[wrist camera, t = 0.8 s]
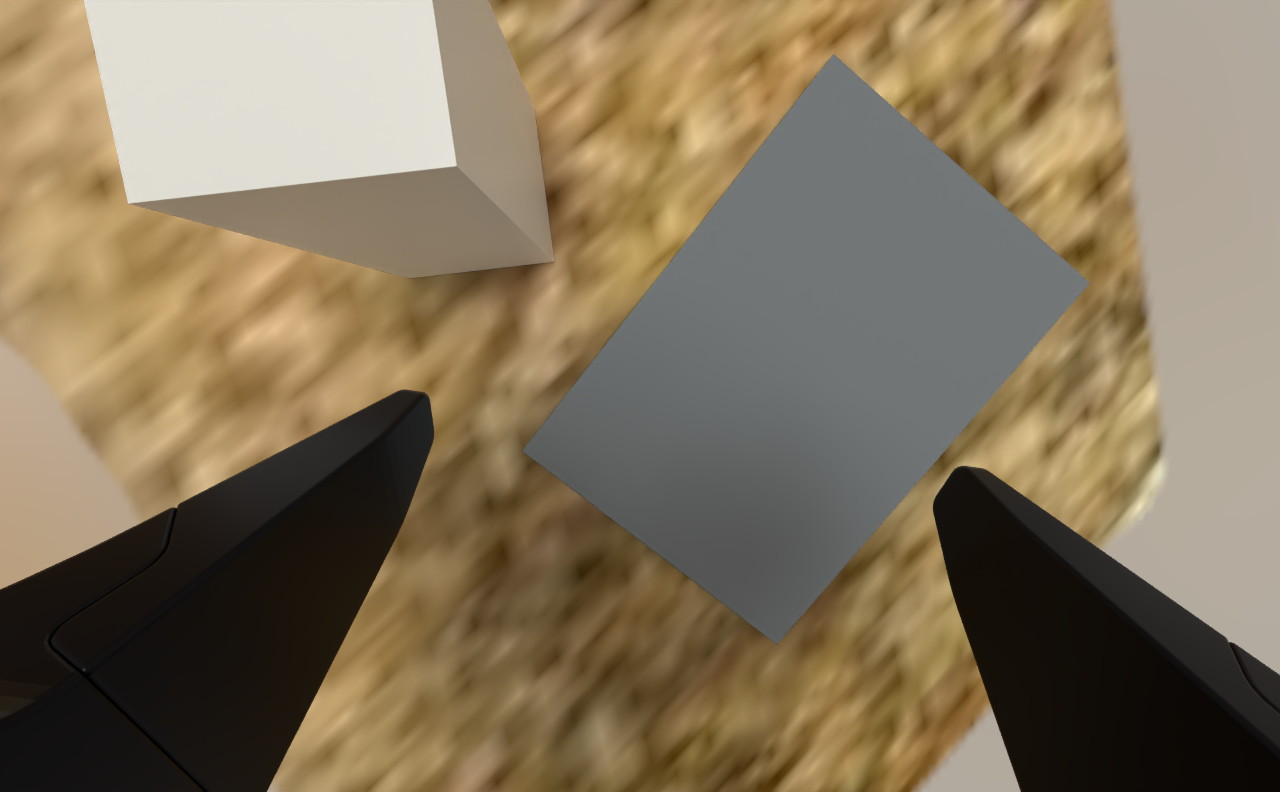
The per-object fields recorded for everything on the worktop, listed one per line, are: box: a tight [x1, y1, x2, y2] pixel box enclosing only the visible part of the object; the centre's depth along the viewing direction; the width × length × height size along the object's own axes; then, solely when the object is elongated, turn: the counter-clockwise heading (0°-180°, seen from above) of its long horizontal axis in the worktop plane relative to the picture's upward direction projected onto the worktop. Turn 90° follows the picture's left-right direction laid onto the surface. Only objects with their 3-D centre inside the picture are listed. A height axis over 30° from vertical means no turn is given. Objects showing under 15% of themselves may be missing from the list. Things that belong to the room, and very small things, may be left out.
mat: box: [523, 54, 1090, 644], centre depth 22 cm, size 20×14×1 cm
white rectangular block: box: [84, 0, 554, 278], centre depth 15 cm, size 6×6×12 cm
